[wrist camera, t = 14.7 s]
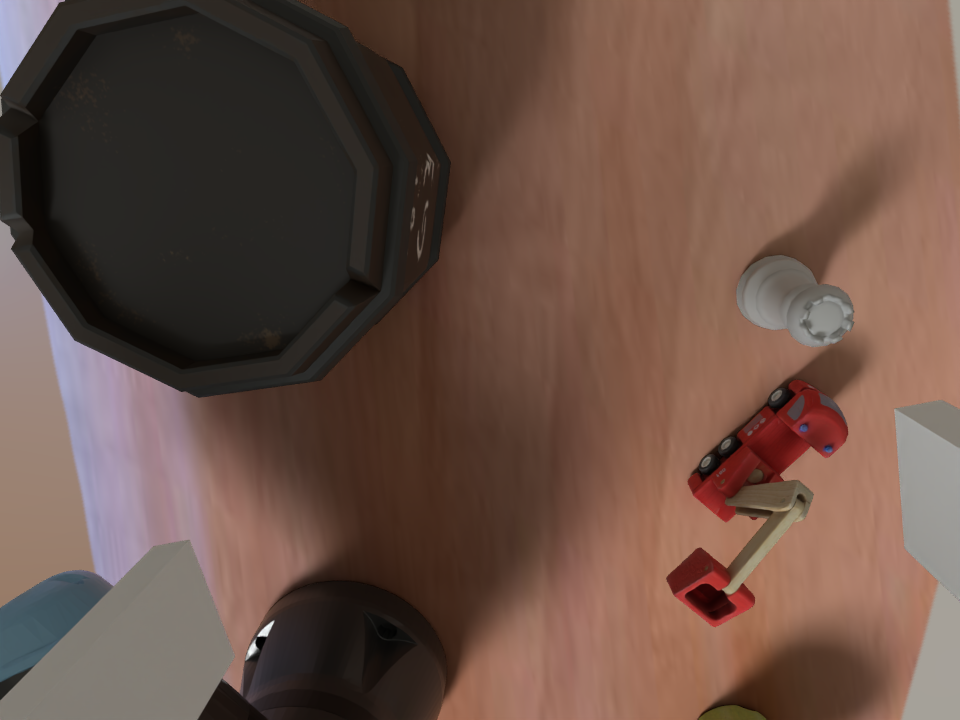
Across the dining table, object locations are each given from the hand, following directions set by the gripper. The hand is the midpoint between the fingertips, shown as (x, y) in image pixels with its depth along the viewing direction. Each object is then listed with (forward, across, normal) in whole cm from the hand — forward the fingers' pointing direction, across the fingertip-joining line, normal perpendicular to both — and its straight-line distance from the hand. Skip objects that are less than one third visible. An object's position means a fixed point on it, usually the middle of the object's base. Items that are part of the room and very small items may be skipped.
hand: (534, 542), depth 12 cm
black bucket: (+30, +12, -9) cm, 34 cm away
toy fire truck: (+30, -11, +14) cm, 35 cm away
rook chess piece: (+30, -15, +4) cm, 33 cm away
